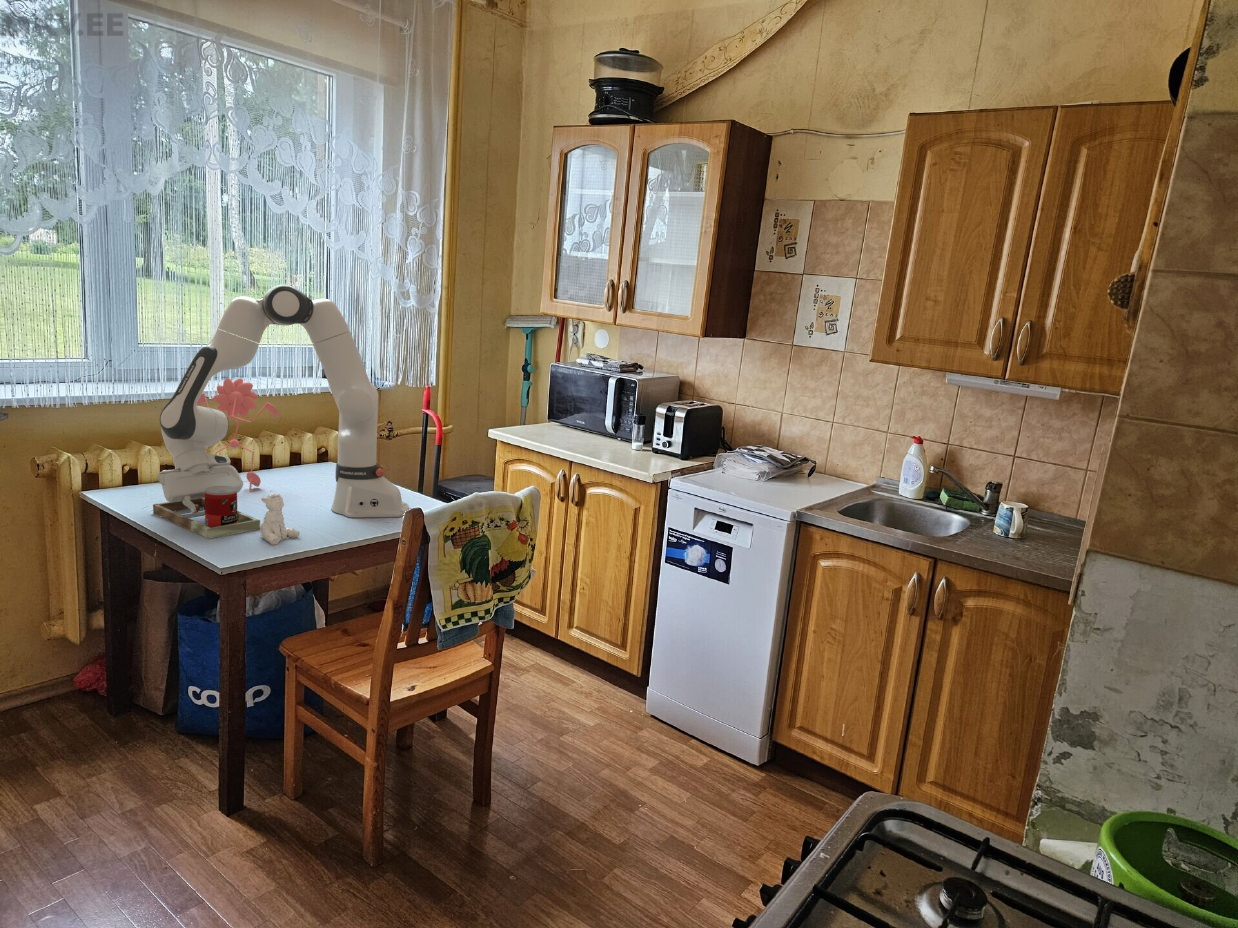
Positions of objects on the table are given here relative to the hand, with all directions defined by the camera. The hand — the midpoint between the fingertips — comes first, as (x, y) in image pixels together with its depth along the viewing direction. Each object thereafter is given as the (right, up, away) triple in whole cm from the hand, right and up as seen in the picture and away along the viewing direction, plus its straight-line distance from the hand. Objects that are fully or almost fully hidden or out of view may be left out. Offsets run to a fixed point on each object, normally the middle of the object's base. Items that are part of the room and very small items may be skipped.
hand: (213, 509), depth 220 cm
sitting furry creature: (+19, -8, -6) cm, 22 cm away
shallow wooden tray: (-4, -3, +3) cm, 6 cm away
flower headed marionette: (-12, +5, +40) cm, 42 cm away
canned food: (+3, -5, -2) cm, 7 cm away
